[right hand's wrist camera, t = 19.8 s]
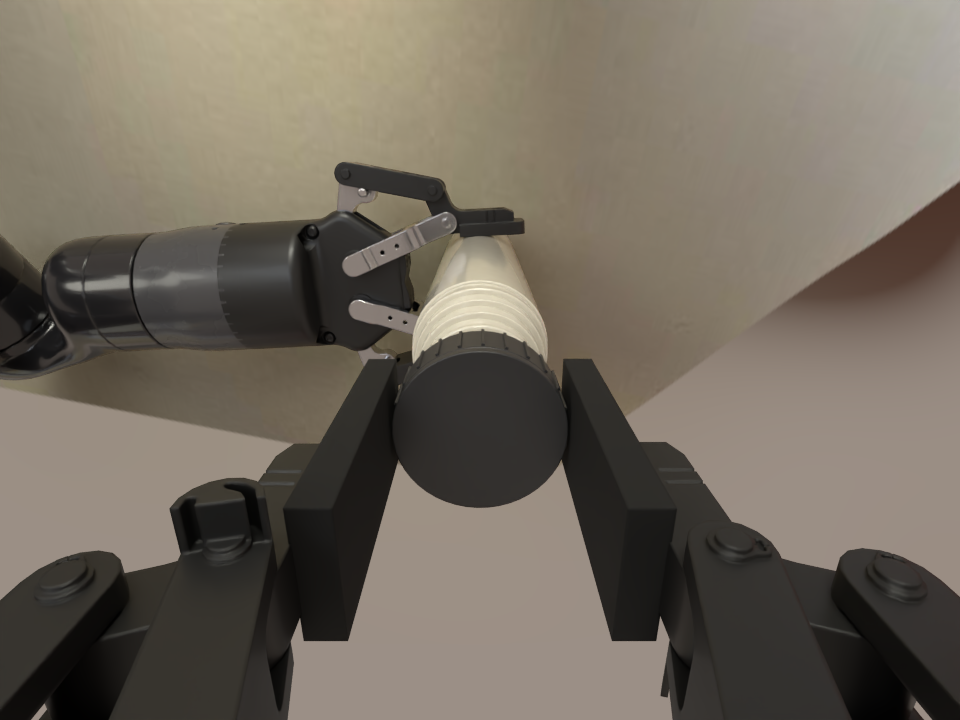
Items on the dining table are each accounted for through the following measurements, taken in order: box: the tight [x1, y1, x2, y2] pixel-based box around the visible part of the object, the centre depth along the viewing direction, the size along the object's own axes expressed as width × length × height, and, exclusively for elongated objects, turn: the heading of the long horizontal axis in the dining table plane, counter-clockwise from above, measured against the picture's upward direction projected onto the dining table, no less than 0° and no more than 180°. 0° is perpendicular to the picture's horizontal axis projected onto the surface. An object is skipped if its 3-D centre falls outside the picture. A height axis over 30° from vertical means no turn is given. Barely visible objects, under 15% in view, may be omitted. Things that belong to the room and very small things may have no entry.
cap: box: [392, 329, 568, 508], centre depth 14 cm, size 4×4×2 cm
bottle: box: [412, 233, 548, 364], centre depth 25 cm, size 5×5×26 cm
